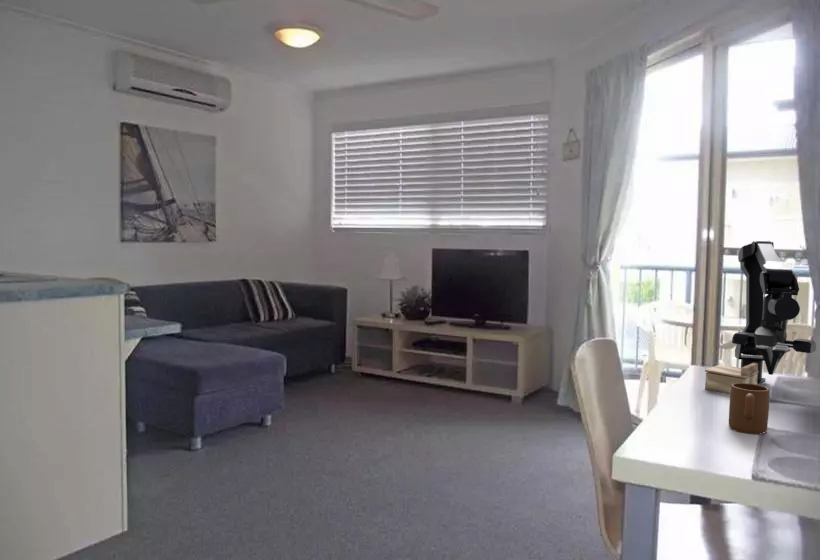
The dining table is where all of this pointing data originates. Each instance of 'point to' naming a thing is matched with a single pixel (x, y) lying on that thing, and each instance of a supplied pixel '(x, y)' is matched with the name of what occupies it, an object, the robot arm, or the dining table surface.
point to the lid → (735, 370)
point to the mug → (749, 408)
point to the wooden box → (726, 382)
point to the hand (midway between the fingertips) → (770, 374)
